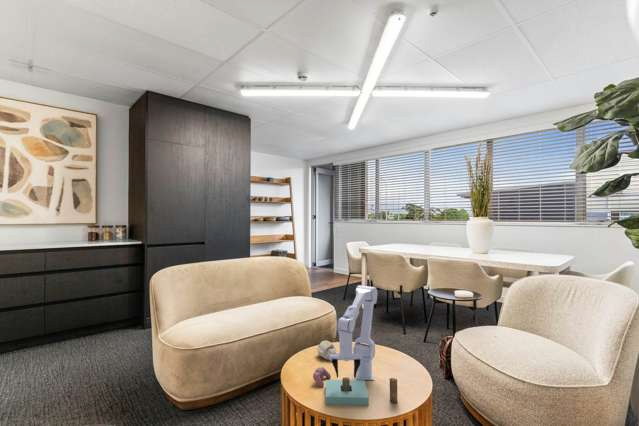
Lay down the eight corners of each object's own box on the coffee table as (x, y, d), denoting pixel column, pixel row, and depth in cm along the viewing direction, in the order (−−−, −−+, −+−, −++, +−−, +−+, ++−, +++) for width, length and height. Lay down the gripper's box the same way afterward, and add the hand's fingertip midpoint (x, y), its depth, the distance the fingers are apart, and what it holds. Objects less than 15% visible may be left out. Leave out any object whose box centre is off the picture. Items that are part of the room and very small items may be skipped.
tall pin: (389, 399, 129) (388, 377, 129) (396, 399, 129) (396, 378, 129) (390, 403, 126) (390, 381, 126) (398, 403, 125) (398, 381, 126)
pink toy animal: (324, 379, 148) (318, 365, 150) (332, 377, 147) (326, 362, 148) (315, 389, 139) (309, 374, 141) (323, 387, 138) (317, 371, 139)
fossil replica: (330, 363, 162) (339, 358, 171) (332, 348, 163) (341, 343, 171) (312, 356, 169) (321, 352, 177) (314, 341, 170) (323, 337, 178)
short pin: (342, 393, 133) (342, 377, 134) (349, 393, 133) (349, 377, 134) (342, 397, 130) (342, 380, 131) (349, 397, 130) (349, 381, 130)
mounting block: (326, 386, 139) (326, 379, 139) (364, 387, 138) (364, 380, 139) (325, 404, 125) (325, 396, 125) (368, 405, 124) (368, 397, 125)
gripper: (329, 349, 129) (329, 381, 128) (363, 349, 128) (363, 381, 128) (329, 342, 136) (329, 372, 136) (361, 342, 136) (361, 373, 135)
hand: (346, 376), depth 132 cm, fingers open, 7 cm apart
